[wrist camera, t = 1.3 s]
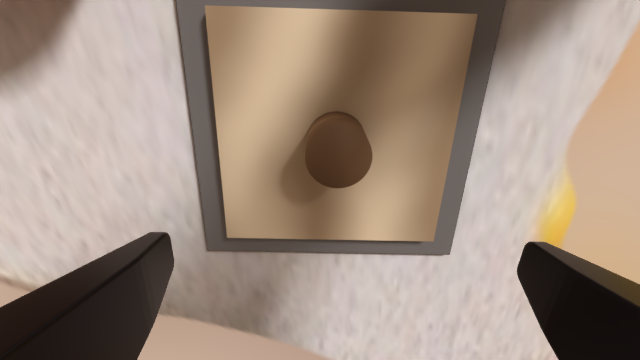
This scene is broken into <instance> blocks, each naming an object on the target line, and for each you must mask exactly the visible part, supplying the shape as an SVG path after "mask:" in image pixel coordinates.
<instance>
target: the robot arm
mask: <svg viewBox="0 0 640 360" xmlns="http://www.w3.org/2000/svg"><path fill="white" fill-rule="evenodd" d="M173 267H174V257H173V251H172V245H171V239H170V236H169V234H168V233H166V232H150V233H148V234H146V235H144V236H142V237H140V238H138V239H136V240H134V241H132V242H130V243H128V244H126V245H124V246H122V247H120V248H118V249H116V250H114V251H112V252H110V253H108V254H106V255H104V256H102V257H100V258H98V259H96V260H94V261H92V262H90V263H88V264H86V265H84V266H82V267H80V268H78V269H76V270H74V271H72V272H70V273H68V274H66V275H64V276H62V277H60V278H58V279H56V280H54V281H52V282H50V283H48V284H46V285H44V286H42V287H40V288H38V289H36V290H34V291H32V292H30V293H28V294H26V295H24V296H22V297H20V298H18V299H16V300H14V301H12V302H10V303H8V304H6V305H4V306H2V307H0V360H137V358H138V356H139V354H140V352H141V350H142V348H143V346H144V344H145V342H146V340H147V338H148V335H149V333H150V331H151V329H152V327H153V324H154V322H155V319H156V317H157V314H158V311H159V308H160V305H161V302H162V300H163V297H164V294H165V291H166V288H167V285H168V282H169V279H170V277H171V274H172V271H173ZM517 275H518V278H519V280H520V283H521V285H522V287H523V289H524V292H525V294H526V296H527V298H528V300H529V303H530V305H531V307H532V309H533V312H534V314H535V316H536V318H537V320H538V323H539V325H540V327H541V329H542V331H543V333H544V335H545V337H546V338H547V340H548V342H549V344H550V346H551V347H552V349H553V351H554V353H555V354H556V356H557V358H558V359H559V360H640V284H637V283H635V282H633V281H631V280H629V279H626V278H624V277H622V276H620V275H617V274H615V273H613V272H611V271H609V270H606V269H604V268H602V267H600V266H597V265H595V264H593V263H591V262H589V261H586V260H584V259H582V258H579V257H577V256H575V255H573V254H571V253H569V252H566V251H564V250H562V249H560V248H557V247H555V246H553V245H551V244H549V243H546V242H528V243H527V244H526V245H525V247H524V249H523V252H522V255H521V258H520V261H519V264H518V268H517Z"/></svg>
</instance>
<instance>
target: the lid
mask: <svg viewBox="0 0 640 360" xmlns="http://www.w3.org/2000/svg"><path fill="white" fill-rule="evenodd" d="M205 14H206V24H207V35H208V45H209V55H210V66H211V76H212V86H213V97H214V107H215V117H216V128H217V138H218V148H219V159H220V169H221V179H222V190H223V200H224V210H225V221H226V231H227V238H271V239H326V240H380V241H434V237H435V232H436V227H437V222H438V216H439V211H440V206H441V201H442V196H443V191H444V185H445V180H446V175H447V170H448V165H449V160H450V154H451V149H452V144H453V139H454V134H455V129H456V123H457V118H458V113H459V108H460V103H461V97H462V92H463V87H464V82H465V77H466V72H467V66H468V61H469V56H470V51H471V46H472V41H473V35H474V30H475V25H476V20H477V15H478V14H463V13H431V12H400V11H368V10H336V9H305V8H273V7H241V6H210V5H205Z"/></svg>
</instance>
